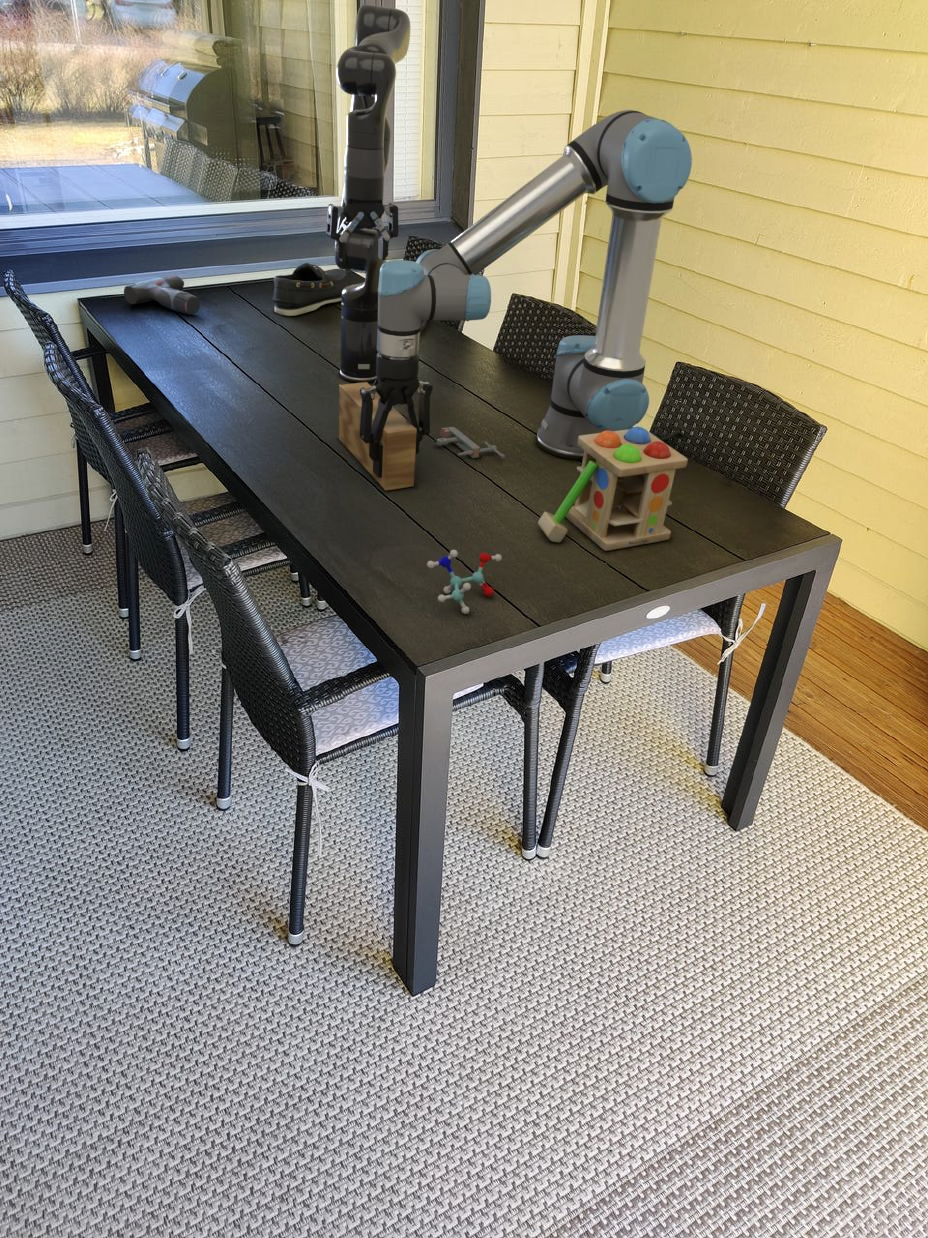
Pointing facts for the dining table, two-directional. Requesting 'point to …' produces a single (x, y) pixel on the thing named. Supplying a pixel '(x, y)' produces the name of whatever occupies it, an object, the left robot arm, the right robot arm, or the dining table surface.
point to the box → (394, 439)
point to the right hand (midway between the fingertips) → (393, 471)
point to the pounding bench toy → (619, 490)
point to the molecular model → (457, 581)
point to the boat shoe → (308, 289)
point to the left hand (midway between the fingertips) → (362, 259)
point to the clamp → (464, 443)
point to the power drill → (163, 294)
